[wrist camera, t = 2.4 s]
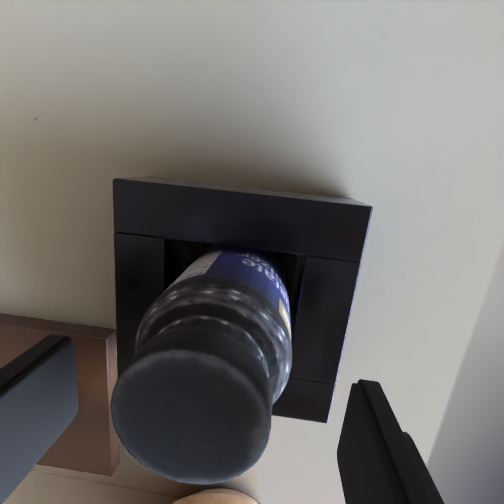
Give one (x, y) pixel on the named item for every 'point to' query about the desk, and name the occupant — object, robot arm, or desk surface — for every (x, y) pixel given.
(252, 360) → the pill bottle
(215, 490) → the vase
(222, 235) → the holder
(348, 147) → the desk surface
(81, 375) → the stand
